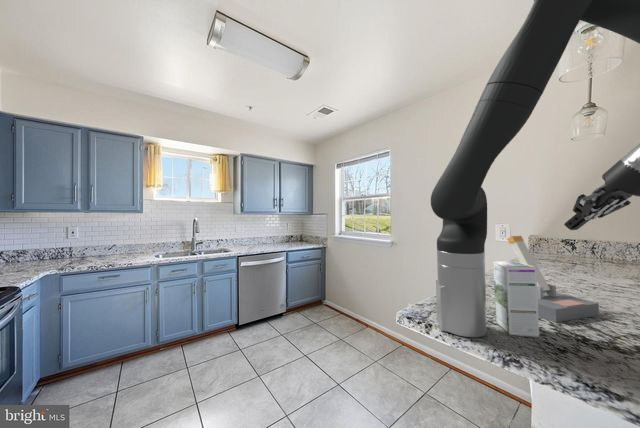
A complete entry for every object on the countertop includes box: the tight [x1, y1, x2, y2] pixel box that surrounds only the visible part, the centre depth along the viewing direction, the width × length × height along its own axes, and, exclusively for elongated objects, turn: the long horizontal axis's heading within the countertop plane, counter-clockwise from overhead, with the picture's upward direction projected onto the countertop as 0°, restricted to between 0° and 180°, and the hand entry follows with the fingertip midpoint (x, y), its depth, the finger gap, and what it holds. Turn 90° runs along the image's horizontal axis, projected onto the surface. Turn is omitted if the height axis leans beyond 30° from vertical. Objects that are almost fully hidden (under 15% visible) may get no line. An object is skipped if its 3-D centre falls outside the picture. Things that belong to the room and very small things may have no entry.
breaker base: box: [537, 283, 600, 323], centre depth 63 cm, size 14×14×6 cm
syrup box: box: [493, 260, 540, 338], centre depth 52 cm, size 6×6×14 cm
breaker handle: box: [506, 235, 550, 293], centre depth 67 cm, size 2×3×16 cm, turn 102°
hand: (569, 227), depth 58 cm, fingers closed
